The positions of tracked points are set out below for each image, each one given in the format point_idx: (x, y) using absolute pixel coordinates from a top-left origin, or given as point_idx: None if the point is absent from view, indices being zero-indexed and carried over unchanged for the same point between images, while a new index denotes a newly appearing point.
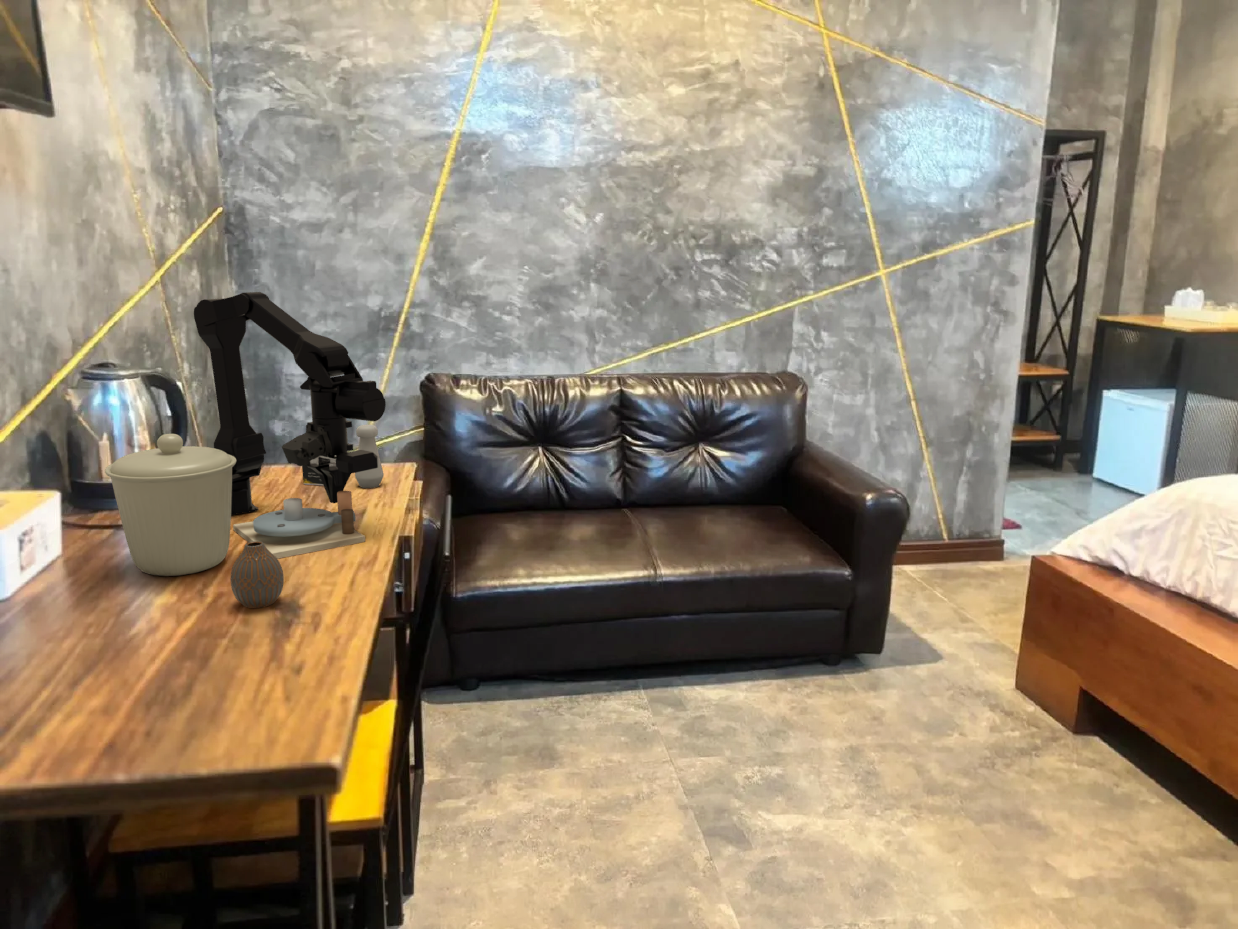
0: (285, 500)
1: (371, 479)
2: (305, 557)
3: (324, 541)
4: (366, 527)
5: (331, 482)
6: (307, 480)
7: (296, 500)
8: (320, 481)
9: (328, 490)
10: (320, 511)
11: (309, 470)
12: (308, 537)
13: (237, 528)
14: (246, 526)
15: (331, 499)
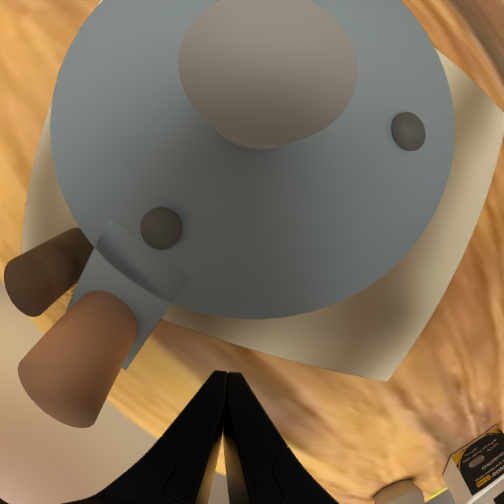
0: (323, 26)
1: (384, 502)
2: (67, 30)
3: None
4: (150, 360)
5: (147, 464)
6: (494, 433)
7: (231, 71)
8: (474, 446)
9: (231, 420)
10: (238, 284)
11: (498, 448)
12: None
13: (477, 86)
14: (474, 111)
15: (220, 381)
